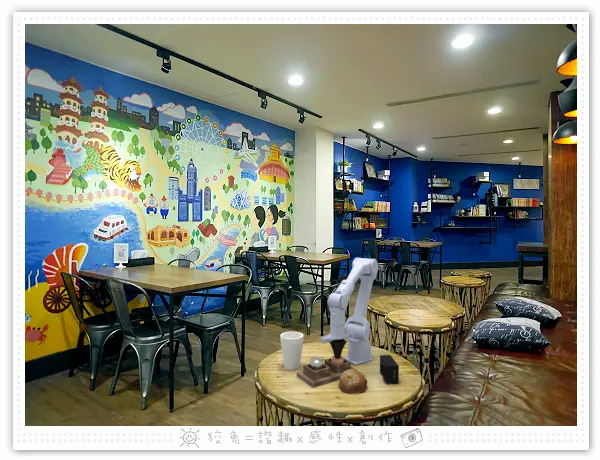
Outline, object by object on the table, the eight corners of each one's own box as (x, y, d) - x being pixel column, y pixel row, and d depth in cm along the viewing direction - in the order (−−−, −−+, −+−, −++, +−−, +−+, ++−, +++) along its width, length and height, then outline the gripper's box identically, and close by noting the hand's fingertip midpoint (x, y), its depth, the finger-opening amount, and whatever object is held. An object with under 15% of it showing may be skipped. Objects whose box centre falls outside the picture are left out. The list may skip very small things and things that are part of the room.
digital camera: (376, 372, 140) (376, 354, 139) (390, 372, 140) (390, 354, 140) (383, 384, 129) (384, 365, 129) (398, 384, 130) (398, 365, 129)
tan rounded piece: (338, 361, 143) (338, 354, 142) (345, 366, 139) (346, 358, 138) (328, 364, 140) (328, 357, 140) (336, 368, 136) (336, 361, 136)
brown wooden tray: (339, 364, 147) (339, 353, 147) (357, 374, 138) (357, 362, 138) (296, 376, 136) (296, 364, 135) (312, 387, 126) (312, 375, 126)
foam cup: (300, 372, 139) (300, 339, 138) (277, 370, 141) (277, 338, 140) (305, 363, 148) (305, 332, 148) (283, 361, 150) (283, 330, 150)
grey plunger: (318, 364, 137) (318, 356, 137) (325, 368, 133) (325, 360, 133) (307, 366, 135) (307, 359, 134) (315, 371, 131) (315, 363, 130)
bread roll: (342, 390, 132) (333, 371, 132) (367, 379, 132) (358, 360, 132) (345, 404, 122) (335, 383, 122) (372, 392, 122) (362, 371, 122)
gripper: (345, 318, 146) (345, 351, 146) (316, 324, 138) (316, 358, 139) (356, 322, 140) (356, 356, 140) (327, 328, 132) (327, 364, 133)
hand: (337, 357), depth 139 cm, fingers closed, pressing on tan rounded piece
